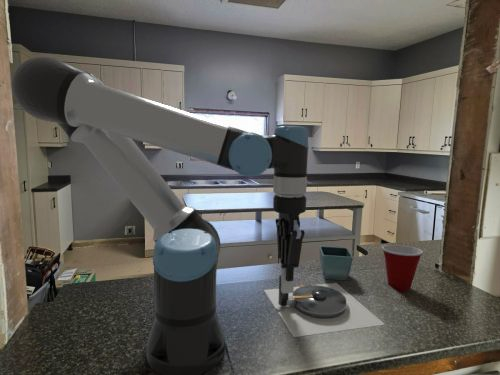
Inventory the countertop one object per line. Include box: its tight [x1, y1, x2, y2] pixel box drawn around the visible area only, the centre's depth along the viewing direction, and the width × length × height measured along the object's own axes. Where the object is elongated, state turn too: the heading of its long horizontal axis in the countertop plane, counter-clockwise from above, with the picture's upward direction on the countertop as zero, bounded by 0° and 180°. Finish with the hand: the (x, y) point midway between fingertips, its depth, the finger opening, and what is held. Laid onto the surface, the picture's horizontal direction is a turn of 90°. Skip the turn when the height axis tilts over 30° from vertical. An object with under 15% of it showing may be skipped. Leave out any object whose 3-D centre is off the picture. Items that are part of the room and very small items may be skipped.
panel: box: [263, 282, 385, 338], centre depth 81 cm, size 22×22×2 cm
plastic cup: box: [381, 244, 424, 293], centre depth 94 cm, size 11×11×12 cm
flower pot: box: [319, 245, 354, 281], centre depth 99 cm, size 9×9×9 cm
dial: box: [278, 274, 346, 319], centre depth 80 cm, size 17×13×8 cm
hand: (287, 291), depth 78 cm, fingers closed
